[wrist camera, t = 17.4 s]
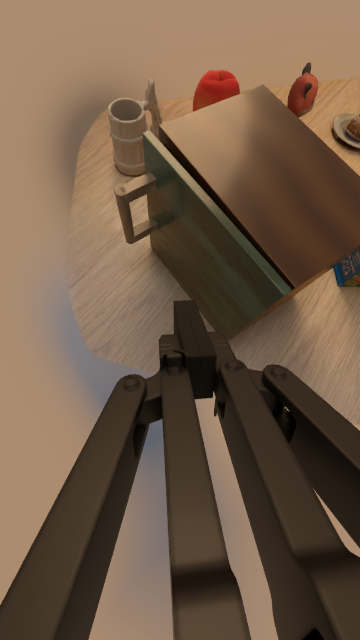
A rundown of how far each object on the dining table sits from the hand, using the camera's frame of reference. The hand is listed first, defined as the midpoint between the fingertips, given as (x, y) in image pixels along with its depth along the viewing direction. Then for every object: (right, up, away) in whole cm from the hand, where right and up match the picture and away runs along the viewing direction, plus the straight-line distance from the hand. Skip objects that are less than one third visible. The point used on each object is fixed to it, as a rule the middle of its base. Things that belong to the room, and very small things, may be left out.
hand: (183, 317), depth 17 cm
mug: (-9, +34, +33) cm, 49 cm away
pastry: (+43, +45, +41) cm, 74 cm away
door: (-1, +4, +24) cm, 24 cm away
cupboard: (+8, +9, +27) cm, 29 cm away
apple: (+7, +44, +37) cm, 58 cm away
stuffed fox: (+21, +43, +38) cm, 61 cm away
